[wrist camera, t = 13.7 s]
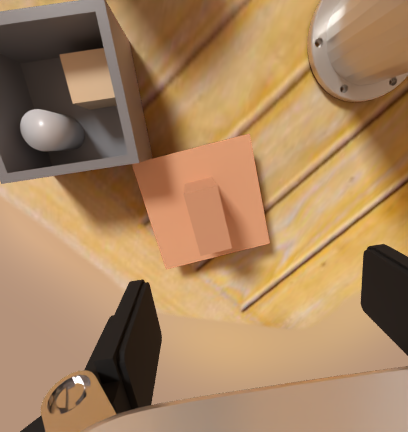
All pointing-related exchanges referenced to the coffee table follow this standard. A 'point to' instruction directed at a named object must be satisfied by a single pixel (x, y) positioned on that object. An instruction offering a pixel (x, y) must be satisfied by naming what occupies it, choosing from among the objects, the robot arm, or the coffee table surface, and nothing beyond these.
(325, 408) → the robot arm
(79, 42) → the storage box
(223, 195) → the lid
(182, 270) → the coffee table surface
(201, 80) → the coffee table surface
